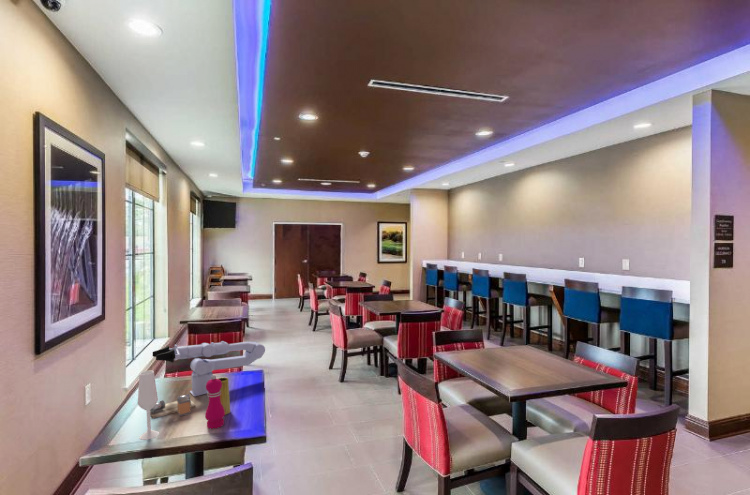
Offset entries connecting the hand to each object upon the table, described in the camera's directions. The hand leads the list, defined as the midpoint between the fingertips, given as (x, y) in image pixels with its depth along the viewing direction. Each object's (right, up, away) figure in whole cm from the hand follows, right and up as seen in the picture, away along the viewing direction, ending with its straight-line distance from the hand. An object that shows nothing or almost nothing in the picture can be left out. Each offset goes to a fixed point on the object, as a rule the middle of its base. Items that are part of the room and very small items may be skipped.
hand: (154, 355), depth 187 cm
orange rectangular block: (+19, -22, -11) cm, 31 cm away
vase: (+35, -21, -12) cm, 43 cm away
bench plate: (+11, -22, -6) cm, 25 cm away
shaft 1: (+7, -22, -10) cm, 25 cm away
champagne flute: (+14, -22, -30) cm, 40 cm away
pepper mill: (+37, -22, -23) cm, 48 cm away
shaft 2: (+15, -21, -3) cm, 26 cm away
